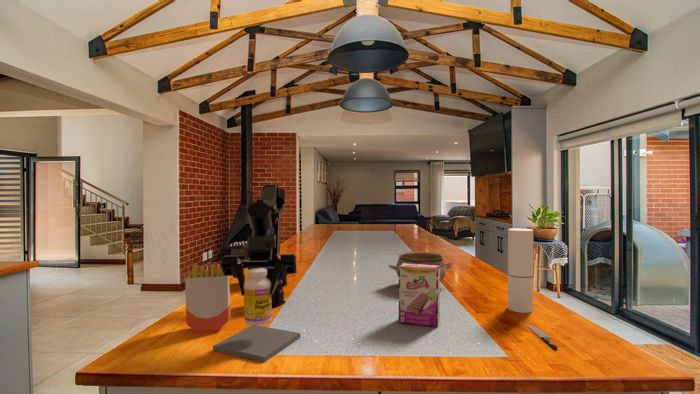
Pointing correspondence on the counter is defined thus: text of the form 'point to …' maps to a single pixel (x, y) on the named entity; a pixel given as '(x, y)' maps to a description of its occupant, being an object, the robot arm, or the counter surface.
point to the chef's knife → (542, 336)
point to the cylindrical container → (520, 270)
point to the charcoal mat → (257, 343)
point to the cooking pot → (423, 261)
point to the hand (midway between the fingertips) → (256, 294)
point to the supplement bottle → (257, 297)
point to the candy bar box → (419, 294)
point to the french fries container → (207, 299)
